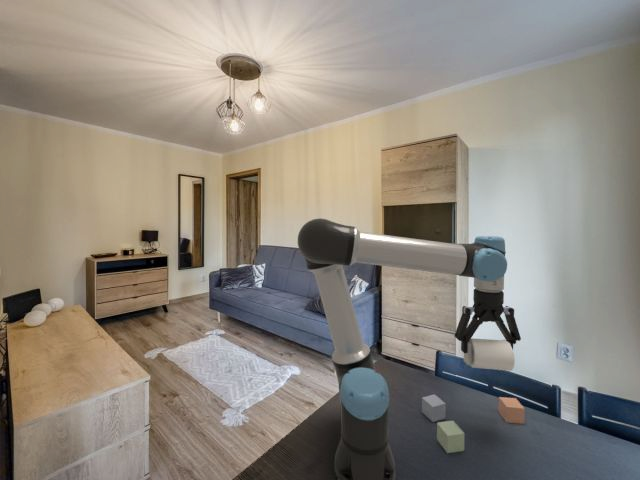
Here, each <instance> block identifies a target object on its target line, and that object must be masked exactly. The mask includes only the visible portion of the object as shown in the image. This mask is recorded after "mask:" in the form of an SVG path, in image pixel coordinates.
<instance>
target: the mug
mask: <svg viewBox="0 0 640 480" xmlns="http://www.w3.org/2000/svg"><path fill="white" fill-rule="evenodd" d="M505 340H506V339H486V338H485V339H484V338H473V337H471V339H470V340H469V342H470V343H471V365H469V366H470V367H471V368H473V369H486V370H497V371H509V372H510V371H513V370H514V368H515V363H516V362H515V353H514V348H513V349H512V347H511V345H510V344H509V342H507V341H505Z"/></svg>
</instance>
